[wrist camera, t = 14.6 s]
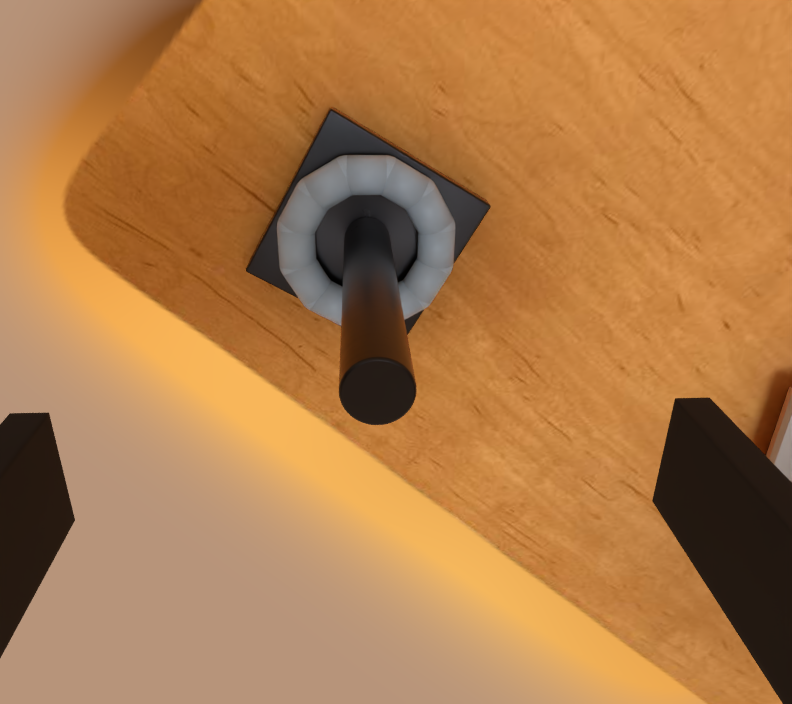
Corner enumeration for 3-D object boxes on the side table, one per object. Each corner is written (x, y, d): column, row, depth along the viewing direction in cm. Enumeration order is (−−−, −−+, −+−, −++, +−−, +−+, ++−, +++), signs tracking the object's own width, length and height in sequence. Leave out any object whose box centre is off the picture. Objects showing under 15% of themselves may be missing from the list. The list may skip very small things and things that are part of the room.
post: (247, 264, 31) (168, 445, 18) (331, 105, 28) (312, 177, 15) (397, 341, 33) (427, 556, 20) (487, 200, 31) (594, 338, 17)
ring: (250, 271, 30) (245, 283, 29) (331, 116, 28) (330, 122, 26) (396, 346, 32) (398, 361, 31) (485, 209, 30) (491, 218, 28)
